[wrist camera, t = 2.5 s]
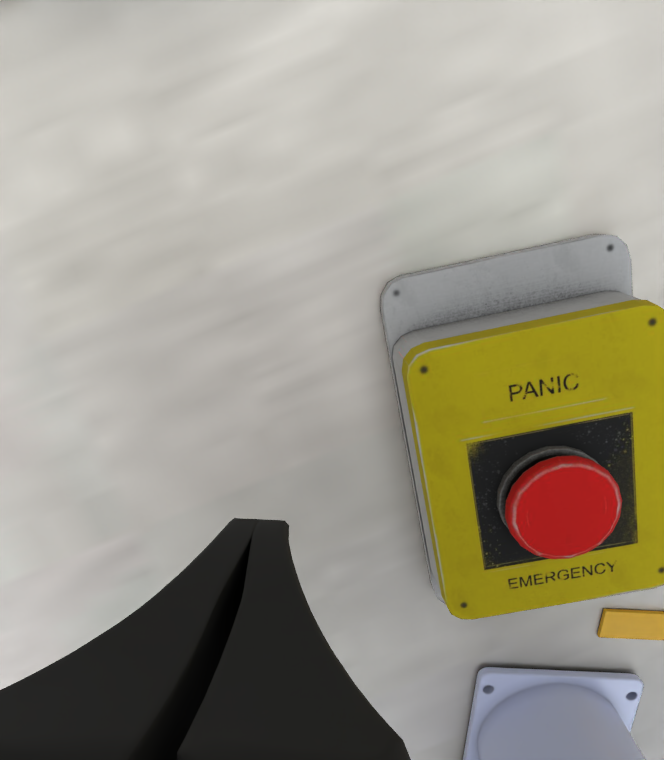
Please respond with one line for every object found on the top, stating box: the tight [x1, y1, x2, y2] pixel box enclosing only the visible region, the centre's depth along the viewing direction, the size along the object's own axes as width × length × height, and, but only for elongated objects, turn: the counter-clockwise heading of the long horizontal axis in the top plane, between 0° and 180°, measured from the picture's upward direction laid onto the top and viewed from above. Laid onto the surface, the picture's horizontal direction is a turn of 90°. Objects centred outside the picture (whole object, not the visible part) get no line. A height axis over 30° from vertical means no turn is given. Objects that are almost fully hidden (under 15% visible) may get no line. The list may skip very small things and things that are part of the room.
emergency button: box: [381, 234, 664, 619], centre depth 18 cm, size 9×4×15 cm
